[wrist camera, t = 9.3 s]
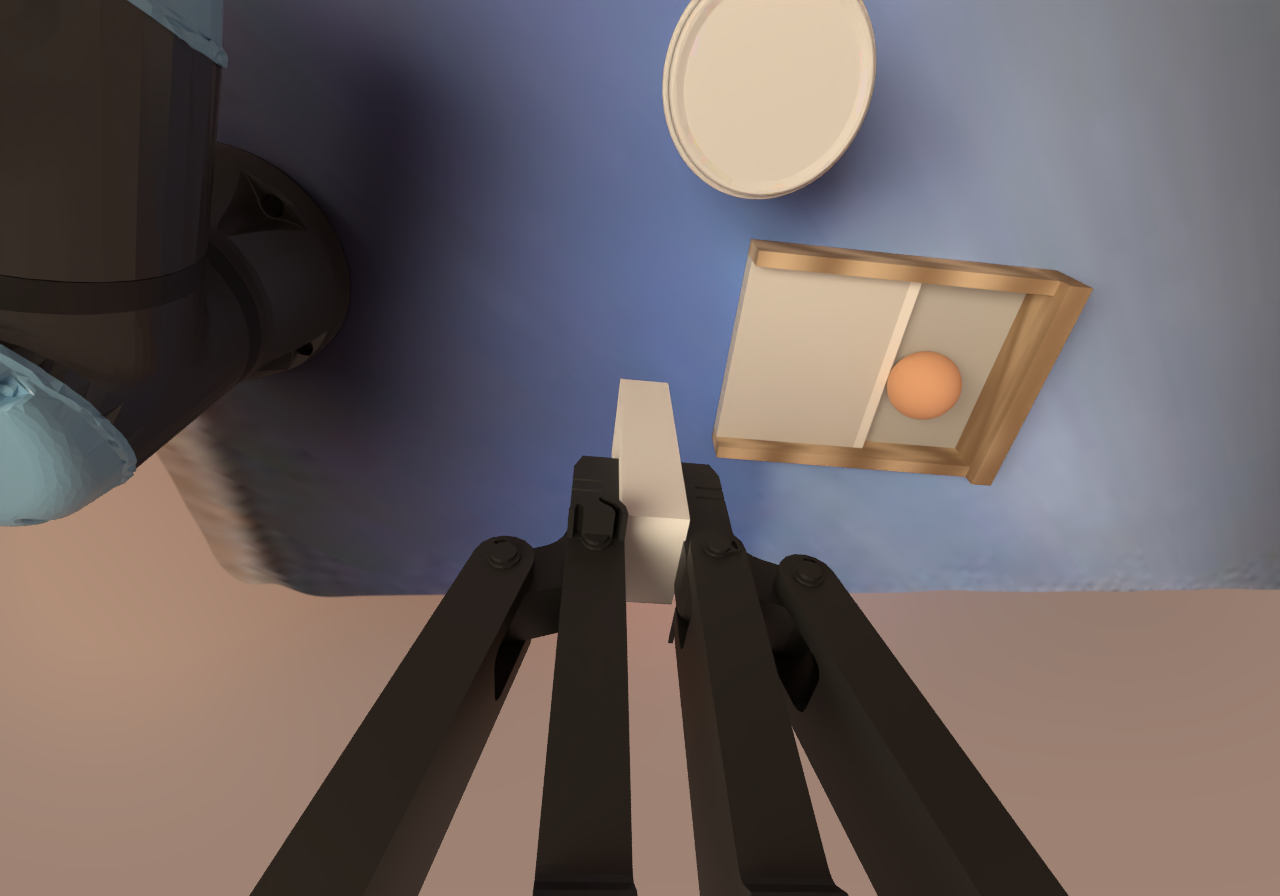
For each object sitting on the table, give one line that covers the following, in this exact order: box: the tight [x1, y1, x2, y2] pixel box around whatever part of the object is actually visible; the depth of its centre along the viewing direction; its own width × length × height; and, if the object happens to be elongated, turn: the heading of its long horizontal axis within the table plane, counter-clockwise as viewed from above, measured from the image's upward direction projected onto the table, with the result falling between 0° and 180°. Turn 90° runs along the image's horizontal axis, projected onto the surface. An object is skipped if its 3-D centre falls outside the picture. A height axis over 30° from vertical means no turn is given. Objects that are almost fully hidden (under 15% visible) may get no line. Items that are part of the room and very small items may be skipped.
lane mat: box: [714, 254, 1026, 448], centre depth 45 cm, size 20×14×2 cm
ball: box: [887, 351, 962, 420], centre depth 44 cm, size 5×5×5 cm
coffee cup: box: [663, 0, 876, 199], centre depth 31 cm, size 9×9×12 cm
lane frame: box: [712, 239, 1093, 486], centre depth 44 cm, size 22×16×4 cm
